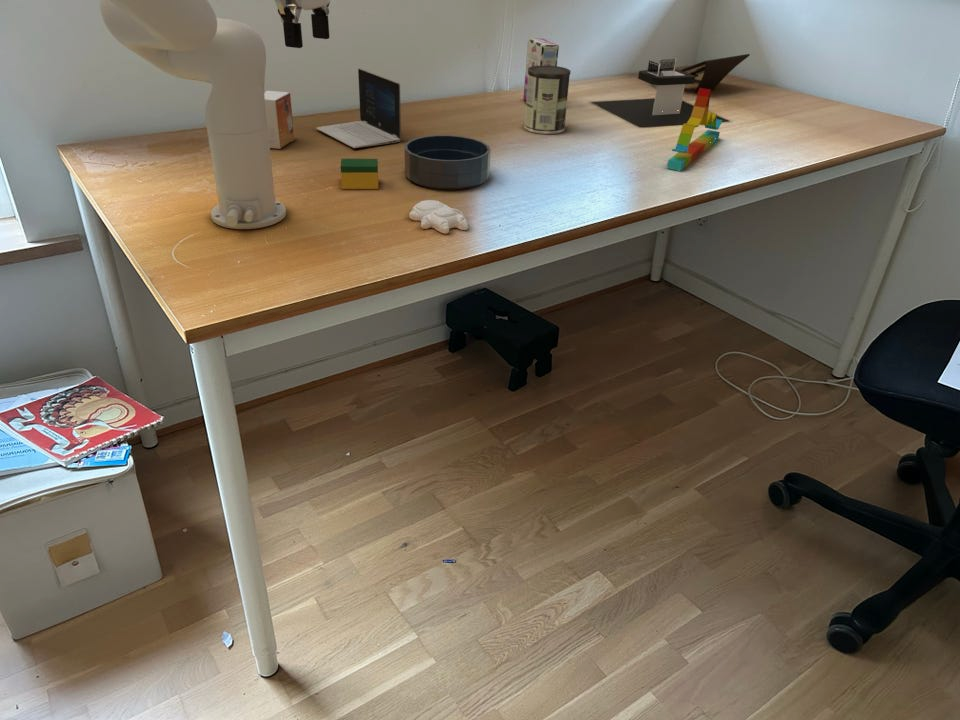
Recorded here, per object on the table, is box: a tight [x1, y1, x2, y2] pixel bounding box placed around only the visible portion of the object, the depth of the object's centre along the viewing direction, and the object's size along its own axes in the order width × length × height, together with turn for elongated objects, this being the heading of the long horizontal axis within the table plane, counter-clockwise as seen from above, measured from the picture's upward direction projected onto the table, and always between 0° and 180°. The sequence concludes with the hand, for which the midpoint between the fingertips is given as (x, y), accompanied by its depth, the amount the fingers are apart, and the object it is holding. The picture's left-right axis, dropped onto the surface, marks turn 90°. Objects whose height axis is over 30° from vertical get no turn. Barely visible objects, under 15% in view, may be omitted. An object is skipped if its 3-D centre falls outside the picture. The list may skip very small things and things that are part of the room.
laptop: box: [315, 68, 402, 149], centre depth 168 cm, size 18×12×13 cm
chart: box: [666, 88, 723, 172], centre depth 167 cm, size 30×3×15 cm, turn 149°
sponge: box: [340, 158, 379, 190], centre depth 143 cm, size 5×7×4 cm
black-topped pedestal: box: [592, 58, 730, 128], centre depth 200 cm, size 28×26×13 cm
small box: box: [264, 90, 295, 150], centre depth 161 cm, size 8×6×10 cm
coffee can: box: [523, 65, 572, 135], centre depth 180 cm, size 10×10×14 cm
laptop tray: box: [680, 53, 750, 93], centre depth 228 cm, size 23×23×9 cm
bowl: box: [403, 134, 492, 191], centre depth 149 cm, size 17×17×6 cm
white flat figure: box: [408, 199, 469, 235], centre depth 129 cm, size 9×12×3 cm
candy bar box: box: [522, 37, 560, 102], centre depth 200 cm, size 11×5×16 cm, turn 17°
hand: (308, 42), depth 132 cm, fingers open, 9 cm apart
